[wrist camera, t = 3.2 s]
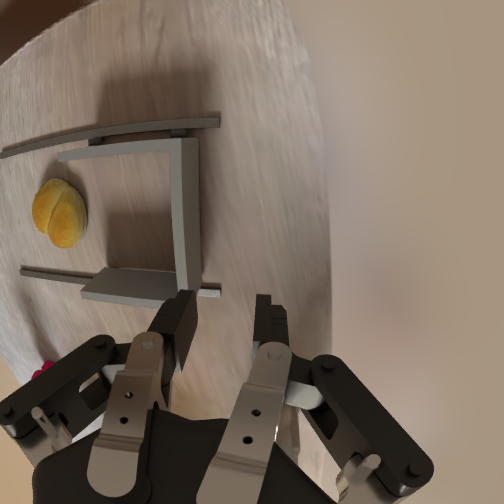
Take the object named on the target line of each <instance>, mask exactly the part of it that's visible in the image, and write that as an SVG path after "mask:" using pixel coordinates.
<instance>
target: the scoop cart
mask: <svg viewBox="0 0 504 504" xmlns="http://www.w3.org/2000/svg"><path fill="white" fill-rule="evenodd" d="M173 137H186V129H173V130H170V138H172V139H157V140H144V141H133V142H124V143H115V144H107V145H100V144H102V137H100V138H92V139H88V143H89V146H92V147H86V148H80V149H74V150H68V151H63V152H58V161H59V162H64V161H70V160H77V159H85V158H92V157H100V156H109V155H119V154H130V153H143V152H158V151H169V154H170V191H171V212H172V228H173V242H174V254H175V266H176V273H172V272H158V271H144V270H131V269H118V268H106V267H104V268H103V269H102V270H101V271H100V272H99V273H98V274H97V275H96V276H95V277H94V278H93V279H92V280H91V281H90V282H89V283H88V284H87V285H85V286H84V287H83V288H82V289H81V290H80V292H81V296H82V299H88V300H95V301H102V302H109V303H116V304H123V305H131V306H139V307H148V308H157V309H160V307H161V305H162V303H164V302H165V301H166V300H168V299H169V298H176V296H177V294H178V292H179V290H180V289H185V290H195V292H196V297H197V294H198V292H199V289H200V287H201V284H202V265H201V243H200V214H199V137H196V138H173ZM93 145H99V146H93Z"/></svg>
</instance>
